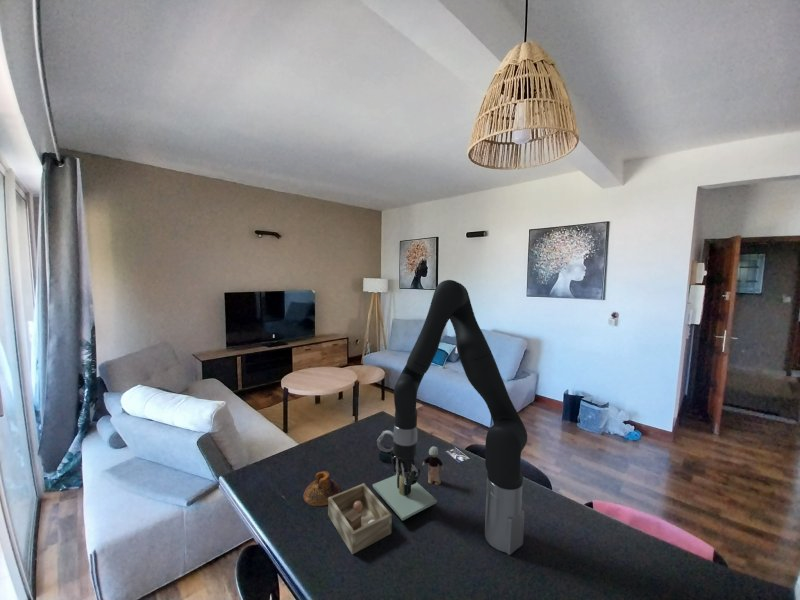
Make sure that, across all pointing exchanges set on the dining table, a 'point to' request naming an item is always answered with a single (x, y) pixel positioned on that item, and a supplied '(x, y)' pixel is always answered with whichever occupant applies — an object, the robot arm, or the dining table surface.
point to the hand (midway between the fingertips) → (403, 490)
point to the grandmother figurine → (433, 466)
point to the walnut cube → (353, 519)
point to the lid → (404, 497)
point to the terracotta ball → (357, 506)
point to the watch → (384, 448)
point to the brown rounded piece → (321, 490)
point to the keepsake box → (370, 511)
